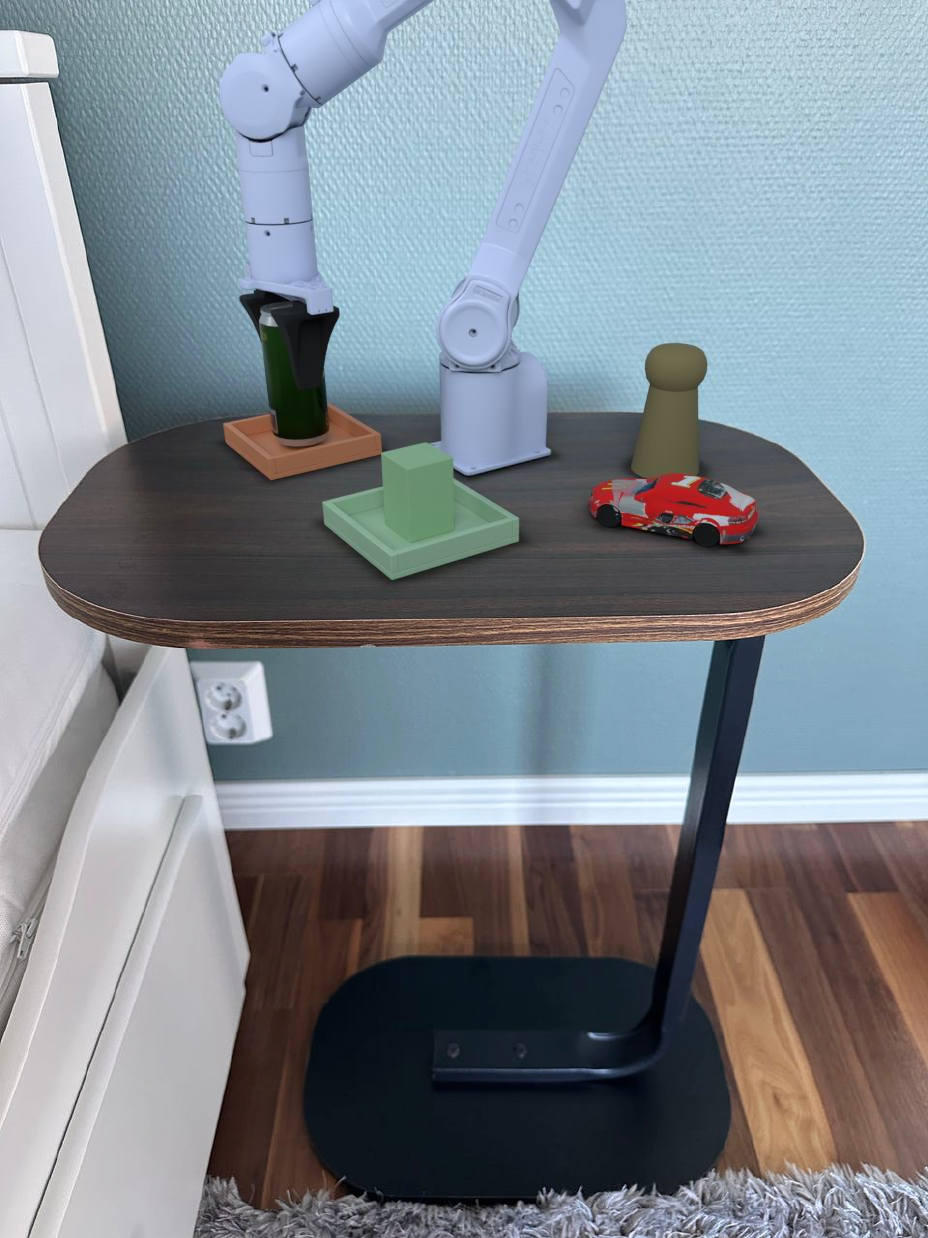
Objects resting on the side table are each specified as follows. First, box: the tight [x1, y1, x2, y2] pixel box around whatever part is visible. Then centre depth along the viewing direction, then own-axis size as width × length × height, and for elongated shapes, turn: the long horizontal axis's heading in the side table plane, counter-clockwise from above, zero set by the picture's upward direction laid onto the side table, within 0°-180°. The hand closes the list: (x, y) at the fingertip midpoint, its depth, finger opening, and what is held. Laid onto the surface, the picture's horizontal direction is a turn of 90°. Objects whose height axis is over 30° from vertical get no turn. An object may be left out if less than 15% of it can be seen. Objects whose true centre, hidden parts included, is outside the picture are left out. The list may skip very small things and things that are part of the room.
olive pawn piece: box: [630, 342, 708, 479], centre depth 82 cm, size 6×6×11 cm
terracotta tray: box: [222, 401, 383, 481], centre depth 90 cm, size 11×11×2 cm
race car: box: [588, 473, 759, 548], centre depth 74 cm, size 13×5×4 cm, turn 61°
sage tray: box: [321, 477, 520, 581], centre depth 74 cm, size 11×11×2 cm
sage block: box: [380, 441, 455, 543], centre depth 72 cm, size 4×4×6 cm
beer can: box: [259, 301, 329, 446], centre depth 86 cm, size 5×5×12 cm
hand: (295, 379), depth 87 cm, fingers closed on beer can, 5 cm apart
